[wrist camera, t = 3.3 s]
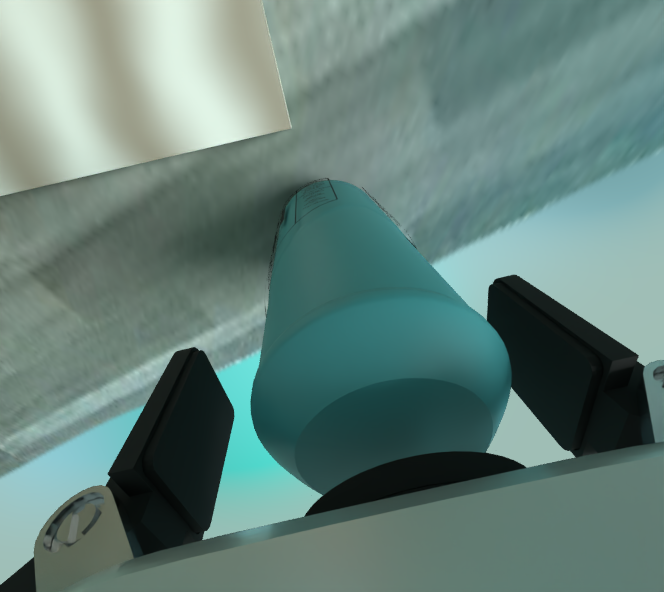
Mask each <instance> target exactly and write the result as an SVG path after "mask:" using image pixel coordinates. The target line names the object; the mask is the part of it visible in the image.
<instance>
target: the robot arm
mask: <svg viewBox="0 0 664 592" xmlns="http://www.w3.org/2000/svg"><path fill="white" fill-rule="evenodd" d="M487 322H488V323H489V324H490V325H491V326H492V327H493V328H494V329H495V330H496V331H497V333H498V334H499V336H500V338H501V339H502V341H503V342H504V344H505V347H506V349H507V352H508V354H509V359H510V365H511V370H512V384H511V387H512V389H513V390H514V391H515V392H516V393H517V394H518V396H519V397H520V398H521V399H522V401H523V402H524V403H525V404H526V405H527V407H528V408H529V409H530V410H531V411H532V412H533V414H534V415H535V416H536V417H537V419H538V420H539V421H540V422H541V423H542V425H543V426H544V427H545V428H546V429H547V431H548V432H549V433H550V434H551V435H552V437H553V438H554V439H555V440H556V441H557V443H558V444H559V445H560V446H561V447H562V448H563V449H564V450H567V451H571V452H572V453H573V455H574V456H575V457H576V458H571V459H566V460H562V461H557V462H552V463H547V464H543V465H538V466H534V467H529V468H524V469H520V470H515V471H510V472H506V473H501V474H496V475H492V476H487V477H482V478H478V479H473V480H468V481H464V482H459V483H454V484H450V485H445V486H441V487H436V488H432V489H427V490H423V491H418V492H413V493H409V494H404V495H400V496H395V497H391V498H386V499H382V500H377V501H373V502H368V503H364V504H359V505H355V506H350V507H346V508H341V509H337V510H332V511H328V512H323V513H319V514H314V515H310V516H305V517H302V518H297V519H292V520H288V521H283V522H280V523H275V524H271V525H266V526H261V527H257V528H253V529H248V530H244V531H239V532H235V533H230V534H227V535H222V536H218V537H214V538H210V539H206V540H202V539H203V534H204V531H207V530H208V529H209V527H210V524H211V520H212V516H213V511H214V506H215V502H216V498H217V493H218V488H219V484H220V479H221V475H222V470H223V466H224V461H225V457H226V452H227V448H228V443H229V439H230V434H231V430H232V425H233V421H234V409H233V406H232V404H231V402H230V400H229V398H228V397H227V395H226V393H225V391H224V389H223V387H222V385H221V383H220V381H219V379H218V377H217V375H216V373H215V372H214V370H213V368H212V366H211V364H210V362H209V360H208V358H207V356H206V354H205V353H204V351H202V350H200V351H199V350H198V349H197V348H195V347H193V348H189V349H184V350H180V351H177V352H175V353H174V355H173V357H172V358H171V360H170V362H169V364H168V366H167V367H166V369H165V371H164V373H163V375H162V376H161V378H160V380H159V382H158V384H157V385H156V387H155V389H154V391H153V393H152V395H151V396H150V398H149V400H148V402H147V404H146V405H145V407H144V409H143V411H142V413H141V414H140V416H139V418H138V420H137V422H136V424H135V425H134V427H133V429H132V431H131V432H130V434H129V436H128V438H127V440H126V442H125V443H124V445H123V447H122V449H121V451H120V452H119V454H118V456H117V458H116V460H115V461H114V463H113V465H112V467H111V469H110V470H109V472H108V475H109V476H110V479H109V481H108V482H107V484H106V486H102V485H100V486H93V487H90V488H88V489H85V490H83V491H81V492H79V493H78V494H76V495H74V496H73V497H71V498H70V499H69V500H67V501H66V502H65V503H64V504H63V505H62V506H60V507H59V508H58V509H57V510H56V511H55V512H54V514H53V515H52V516H51V517H50V518H49V519H48V521H47V522H46V523H45V525H44V526H43V528H42V529H41V531H40V533H39V535H38V537H37V540H36V542H35V548H34V557H33V558H32V559H31V560H30V561H29V562H27V563H26V564H25V565H24V566H23V567H22V568H20V569H19V570H18V571H17V572H16V573H14V574H13V575H12V576H11V577H10V578H8V579H7V580H6V581H5V582H3V583H2V584H1V585H0V592H664V360H658V361H655V362H651V363H649V364H648V365H646V366H643V365H642V364H640V363H639V362H637V359H638V355H637V354H636V353H634V352H633V351H631V350H630V349H628V348H627V347H625V346H624V345H622V344H621V343H619V342H617V341H616V340H615V339H613V338H611V337H610V336H608V335H607V334H605V333H604V332H602V331H601V330H599V329H598V328H596V327H595V326H593V325H592V324H590V323H589V322H587V321H586V320H584V319H583V318H581V317H580V316H578V315H577V314H575V313H574V312H572V311H570V310H569V309H568V308H566V307H564V306H563V305H561V304H560V303H558V302H557V301H555V300H554V299H552V298H551V297H549V296H548V295H546V294H545V293H543V292H542V291H540V290H539V289H537V288H536V287H534V286H533V285H531V284H530V283H528V282H526V281H525V280H523V279H522V278H520V277H519V276H517V275H511V276H506V277H502V278H498V279H495V280H494V282H493V284H491V285H490V286H489V291H488V311H487Z"/></svg>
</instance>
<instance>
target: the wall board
mask: <svg viewBox="0 0 664 592" xmlns="http://www.w3.org/2000/svg"><path fill="white" fill-rule="evenodd" d="M290 128H292V127H291V123H290V118H289V114H288V110H287V106H286V101H285V97H284V93H283V89H282V84H281V80H280V76H279V71H278V67H277V63H276V59H275V54H274V50H273V46H272V42H271V37H270V33H269V29H268V25H267V20H266V16H265V12H264V8H263V3H262V0H0V196H3V195H7V194H12V193H16V192H20V191H25V190H29V189H33V188H37V187H42V186H46V185H50V184H55V183H59V182H63V181H67V180H72V179H76V178H80V177H85V176H89V175H93V174H97V173H102V172H106V171H110V170H115V169H119V168H123V167H127V166H132V165H136V164H140V163H145V162H149V161H153V160H157V159H162V158H166V157H170V156H175V155H179V154H183V153H188V152H192V151H196V150H200V149H205V148H209V147H213V146H218V145H222V144H226V143H230V142H235V141H239V140H243V139H248V138H252V137H256V136H260V135H265V134H269V133H273V132H278V131H282V130H286V129H290Z"/></svg>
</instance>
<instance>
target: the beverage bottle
mask: <svg viewBox="0 0 664 592" xmlns="http://www.w3.org/2000/svg"><path fill="white" fill-rule="evenodd" d="M325 179H328V178H325ZM319 180H320V179H319ZM315 181H316V180H315ZM310 183H311V182H310ZM304 186H305V185H304ZM306 186H307V185H306ZM302 187H303V186H302ZM362 188H363V187H362ZM298 190H299V189H298ZM368 195H369V194H368ZM368 195H367V194H366V193H364V192H363V191H362V190H361V189H359V188H358V187H356V186H354V185H352V184H350V183H346V182H343V181H337V180H329V179H328V180H327V181H321V182H318V181H316V183H313V184H311V185H309V184H308V186H307V187H305V188H303V189H301V191H299V192H298V193H297V191H296V195H295V196H294V197H293V198H292V199H291V200H290V202H289V203H288V205H287V206H285V208H284V209H283V211H281V212H282V217H281V219H280V220H281V222H280V229H279V234H278V236H277V237H278V238H276V235H275V241H276V239H277V240H278V241H276V242H277V247H276V253H275V259H274V265H273V271H270V272H272V276H270V277H268V278H271V283H270V285H269V286H270V290H269V303H268V310H267V317H266V323H265V330H264V337H263V343H262V350H261V358H260V364H259V368H258V370H257V373H256V376H255V379H254V382H253V388H252V394H251V415H252V420H253V424H254V429H255V431H256V433H257V436H258V438H259V440H260V441H261V443H262V444H263V446H264V448H265V449H266V450H267V451H268V452H269V454H270V455H271V456H272V457H273V458H274V459H275V460H276V461H277V462H278V463H279V464H280V465H281V466H282V467H283V468H284V469H286V470H287V471H288V472H289V473H290V474H292V475H293V476H295V477H296V478H297V479H299V480H300V481H301V482H302V483H304V484H306V485H307V486H308V487H310V488H312V489H313V490H315V491H317V492H318V493H320V494H322V495H323V496H322V497H321V498H320V499H319V500H318V501H317V502H316V503H314V504H313V506H312V507H311V508H310V509H309V511H308V512H307V513H306V515H305V516H310V515H314V514H319V513H323V512H328V511H332V510H337V509H341V508H346V507H350V506H355V505H359V504H364V503H368V502H373V501H377V500H382V499H386V498H391V497H395V496H400V495H404V494H409V493H413V492H418V491H423V490H427V489H432V488H436V487H441V486H445V485H450V484H454V483H459V482H464V481H468V480H473V479H478V478H482V477H487V476H492V475H496V474H501V473H506V472H510V471H515V470H520V469H524V468H526V467H525V466H524V465H522V464H520V463H518V462H516V461H514V460H511V459H509V458H506V457H503V456H498V455H494V454H489V453H486V451H487V449H488V447H489V445H490V443H491V441H492V440H493V438H494V436H495V433H496V431H497V429H498V427H499V424H500V422H501V420H502V417H503V414H504V412H505V409H506V406H507V402H508V398H509V394H510V389H511V384H512V370H511V365H510V359H509V354H508V352H507V349H506V347H505V344H504V342H503V341H502V339H501V338H500V336H499V334H498V333H497V331H496V330H495V329H494V328H493V327H492V326H491V325H490V324H489V323H488V322H487V321H486V319H485V318H484V317H483V316H481V315H480V314H479V313H477V312H476V311H475V310H473V309H472V308H471V307H469V306H468V305H467V304H466V302H465V301H464V300H463V299H462V298H461V297H460V296H459V295H458V294H457V293H456V292H455V291H454V289H453V288H452V287H451V286H450V285H449V284H448V283H447V282H446V281H445V280H444V279H443V278H442V277H441V275H440V274H439V273H438V272H437V271H436V270H435V269H434V268H433V267H432V266H431V265H430V264H429V263H428V261H427V260H426V259H425V258H424V257H423V256H422V255H421V254H420V253H419V252H418V251H417V250H416V249H417V248H416V246H414V245H415V244H414V245H413V244H412V243H411V242H410V241H409V240H408V239H407V238H406V237H405V236H404V235H403V233H402V232H401V231H400V230H399V228H398V227H397V226H396V225H395V224H394V223H393V222H392V221H391V219H389V218H390V217H389V218H388V217H387V216H386V214H387V213H386V214H385V213H384V212H383V211H382V210H381V209H382V208H381V209H380V208H379V207H378V206H377V205H376V204H375V203H374V202H373V201H372V200H371V199H370V198H369V197H368ZM291 196H292V195H291ZM369 196H370V195H369ZM370 197H371V196H370ZM371 198H372V199H373V196H372V197H371ZM373 200H374V199H373ZM375 200H376V199H375ZM375 200H374V201H375ZM288 201H289V200H288ZM286 202H287V201H286ZM375 202H376V203H377V201H375ZM286 204H287V203H286ZM286 204H285V205H286ZM377 204H379V203H377ZM283 207H284V206H283ZM383 210H384V208H383ZM385 212H386V211H385ZM389 215H390V214H389ZM389 215H388V216H389ZM390 216H391V215H390ZM279 217H280V216H279ZM393 218H394V217H393ZM394 219H395V218H394ZM394 219H393V220H394ZM278 220H279V219H278ZM395 220H396V219H395ZM396 221H397V220H396ZM397 223H398V222H397ZM278 225H279V223H278ZM399 225H400V224H399ZM400 227H401V226H400ZM277 228H278V227H277ZM404 230H405V229H404ZM276 234H277V233H276ZM408 235H409V234H408ZM411 240H412V239H411ZM275 241H274V246H276V245H275ZM274 246H273V250H272V251H273V252H274V248H275V247H274ZM415 248H416V249H415ZM271 256H272V255H271ZM273 257H274V256H273ZM271 259H272V258H271ZM271 263H272V260H271V261H270V266H272V265H271ZM270 270H271V268H270ZM266 281H267V280H266ZM269 281H270V279H269ZM269 286H268V288H269ZM265 312H266V308H265ZM305 516H304V517H305Z"/></svg>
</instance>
